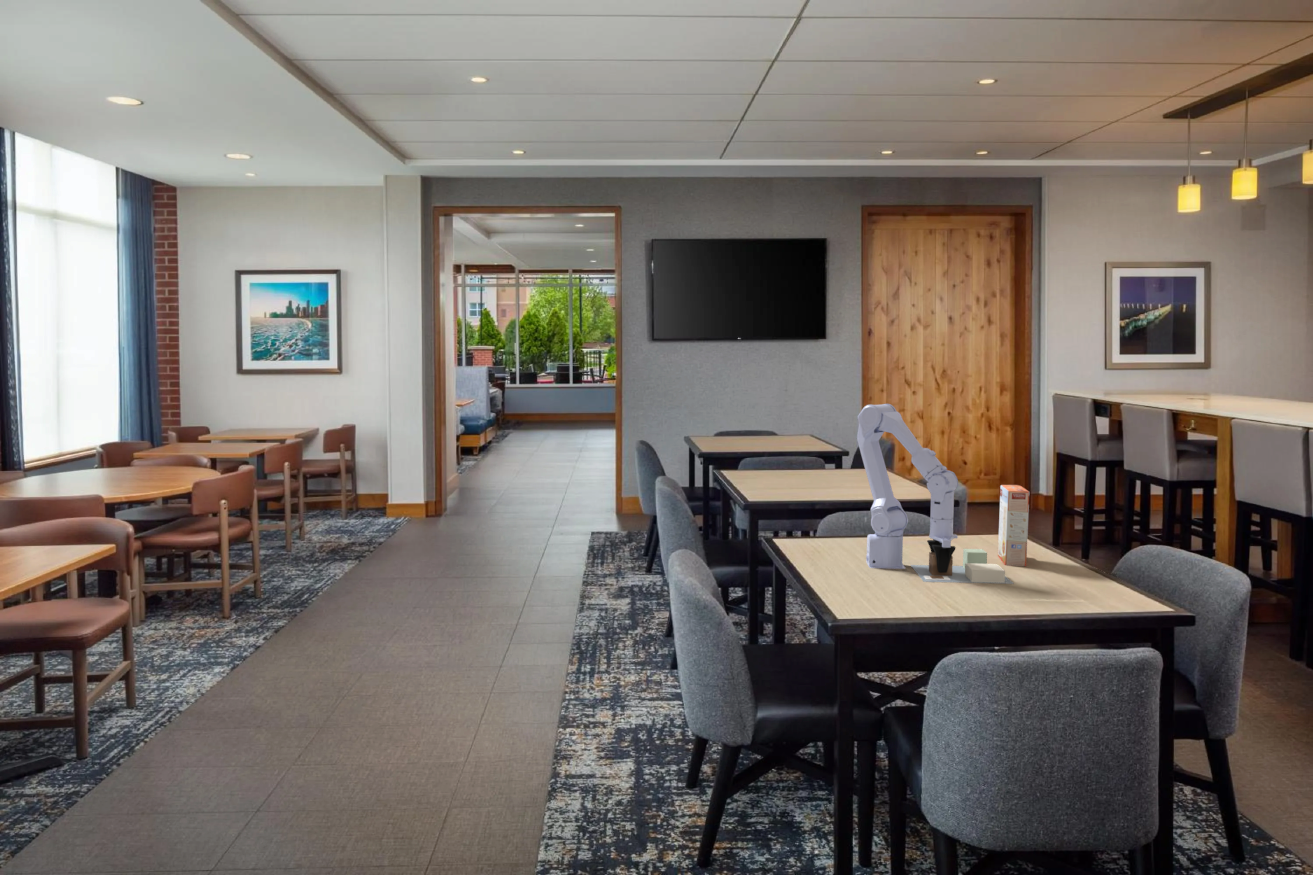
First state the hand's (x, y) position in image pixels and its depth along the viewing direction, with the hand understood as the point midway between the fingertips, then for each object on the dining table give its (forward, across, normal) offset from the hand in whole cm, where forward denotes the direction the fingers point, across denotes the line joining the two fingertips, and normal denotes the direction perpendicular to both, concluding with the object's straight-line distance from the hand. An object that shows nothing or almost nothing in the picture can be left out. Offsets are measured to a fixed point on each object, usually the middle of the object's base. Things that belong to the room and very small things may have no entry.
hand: (940, 569), depth 255 cm
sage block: (+1, +6, -10) cm, 12 cm away
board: (+1, 0, -5) cm, 5 cm away
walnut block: (+1, 0, 0) cm, 1 cm away
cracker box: (+2, +19, -23) cm, 30 cm away
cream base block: (+1, -5, -10) cm, 11 cm away
